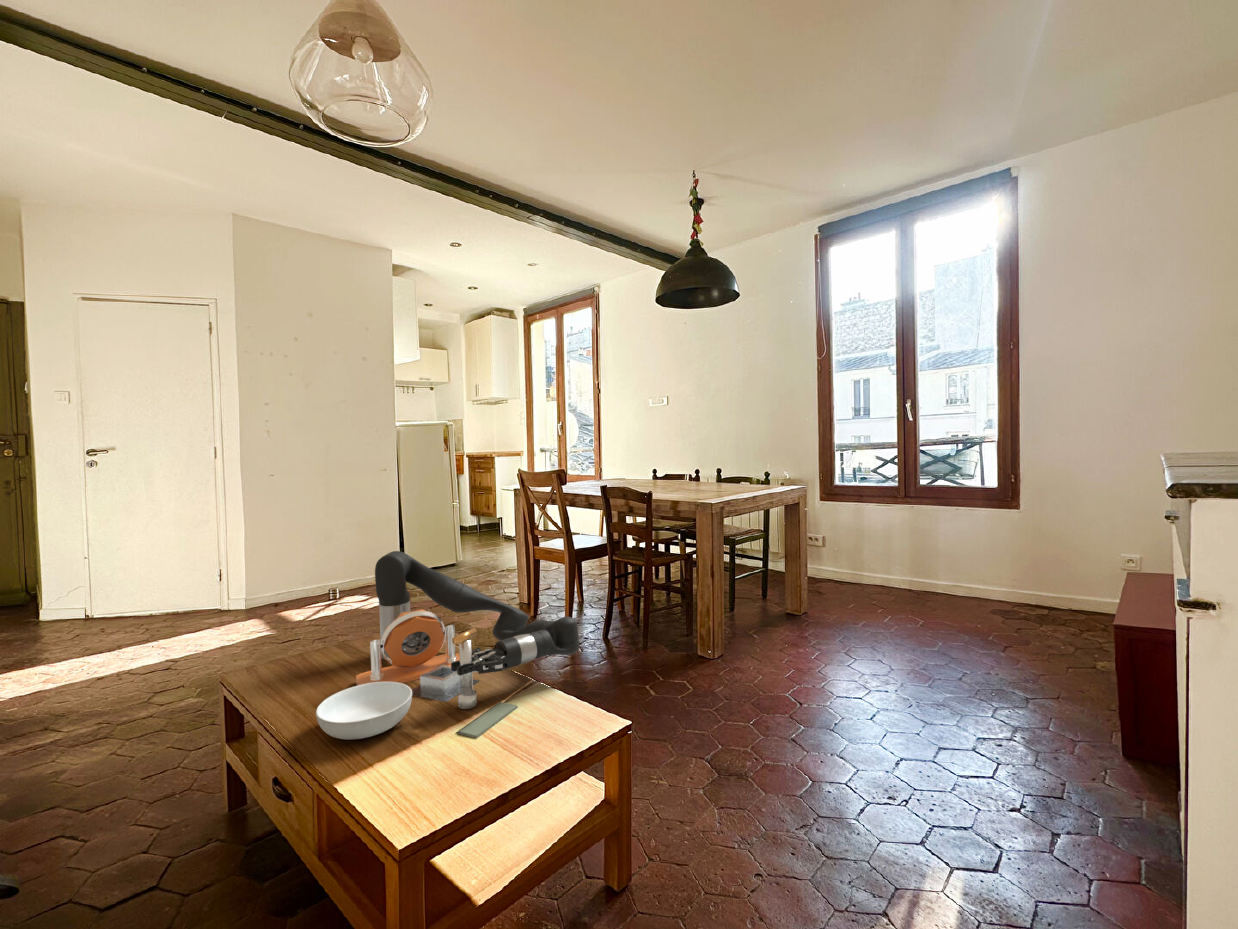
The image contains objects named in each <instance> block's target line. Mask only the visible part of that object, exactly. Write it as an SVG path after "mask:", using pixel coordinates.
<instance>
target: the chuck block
mask: <svg viewBox="0 0 1238 929" xmlns="http://www.w3.org/2000/svg"><path fill="white" fill-rule="evenodd" d="M419 681H420V685H418V686H416V687H414V688H412V689H411V690H412V696H415V697H420V698H423V699H430V700H433V701H438V702H442V703H447V702H448V701H450V700H452V699H454V698H455V697H458V693H459V692H461V683H460V676H459V675H458V674H457V671H452V670H451V666H446V665H440V666H439V667H437V668H435V669H433V670H431V671H429V672H427V673H425V674H423V675H421V676H420V679H419ZM479 682H481V680H478V679H474V678H473V686H474V685H476V684H478V683H479Z"/></svg>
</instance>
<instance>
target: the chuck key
mask: <svg viewBox="0 0 1238 929" xmlns="http://www.w3.org/2000/svg"><path fill="white" fill-rule="evenodd" d="M477 635H478V631H477V629H476V628H474V627H472V628H471V629H468V630H465V631H464V632H462V633H460V634H458V635H455V637H453V639H452V642H453V644H454V645H455V646H458V652H459V659H460V665H464V664H468V663H470V662H471V663H472V650H473V649H472V638H474V637H476V636H477ZM473 676H474V675H473V671H472V672H470V673H467V674H464V675H460V683H461V692H459V693H458V695H457V702H458V703H457V704H458V705H457V706H458V708H459V709H461V710H469V709H472V708H474V707H476V706H477V690H475V689H474V685H473V679H474V678H473Z"/></svg>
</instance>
